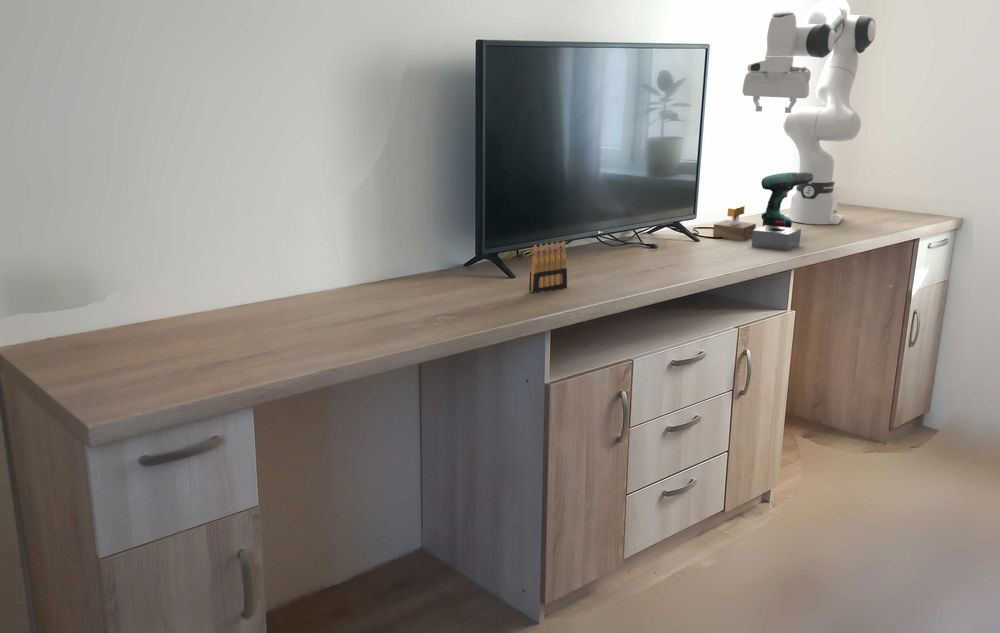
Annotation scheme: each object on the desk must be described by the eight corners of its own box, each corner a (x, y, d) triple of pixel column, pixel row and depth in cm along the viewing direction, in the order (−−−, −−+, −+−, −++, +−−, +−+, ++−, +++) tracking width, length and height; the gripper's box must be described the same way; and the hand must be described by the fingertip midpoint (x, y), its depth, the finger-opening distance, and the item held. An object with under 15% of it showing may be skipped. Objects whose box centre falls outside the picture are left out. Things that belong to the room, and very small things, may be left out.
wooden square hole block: (725, 232, 313) (726, 220, 311) (754, 235, 307) (755, 223, 306) (712, 236, 305) (713, 224, 304) (742, 240, 299) (743, 228, 298)
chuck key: (735, 234, 310) (738, 205, 307) (742, 234, 308) (744, 205, 306) (725, 237, 303) (728, 208, 301) (732, 238, 302) (734, 208, 300)
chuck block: (764, 240, 300) (766, 225, 298) (799, 245, 293) (801, 229, 292) (751, 246, 291) (752, 230, 290) (786, 251, 285) (788, 234, 283)
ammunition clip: (533, 293, 232) (534, 245, 229) (528, 292, 233) (529, 244, 230) (567, 287, 238) (568, 240, 235) (562, 286, 239) (563, 239, 236)
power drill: (810, 235, 309) (817, 173, 304) (759, 234, 309) (765, 172, 304) (804, 231, 316) (810, 170, 311) (754, 230, 316) (760, 169, 311)
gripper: (814, 67, 291) (809, 113, 295) (750, 65, 303) (746, 110, 306) (807, 67, 286) (802, 114, 290) (742, 65, 298) (738, 110, 301)
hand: (773, 112), depth 298 cm, fingers open, 8 cm apart
